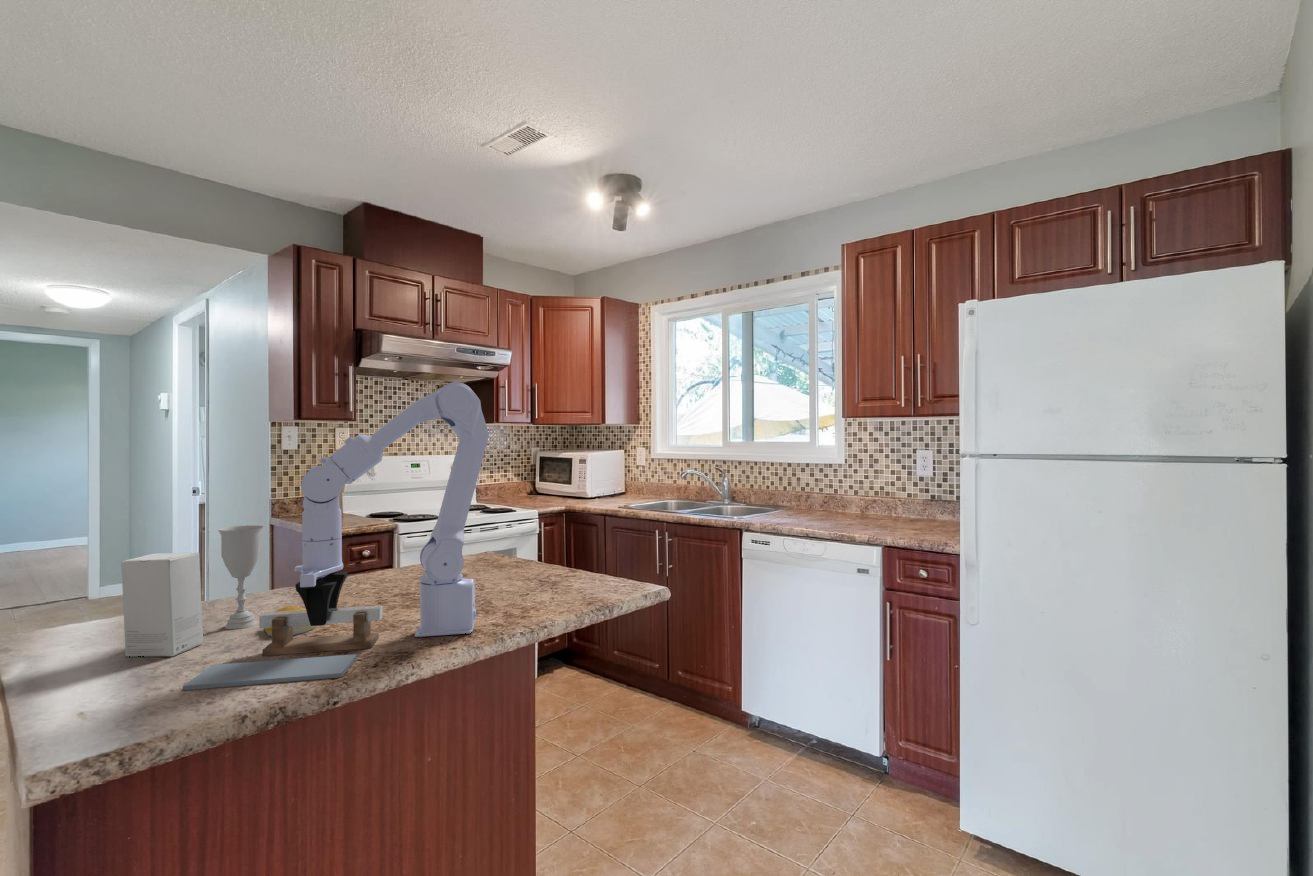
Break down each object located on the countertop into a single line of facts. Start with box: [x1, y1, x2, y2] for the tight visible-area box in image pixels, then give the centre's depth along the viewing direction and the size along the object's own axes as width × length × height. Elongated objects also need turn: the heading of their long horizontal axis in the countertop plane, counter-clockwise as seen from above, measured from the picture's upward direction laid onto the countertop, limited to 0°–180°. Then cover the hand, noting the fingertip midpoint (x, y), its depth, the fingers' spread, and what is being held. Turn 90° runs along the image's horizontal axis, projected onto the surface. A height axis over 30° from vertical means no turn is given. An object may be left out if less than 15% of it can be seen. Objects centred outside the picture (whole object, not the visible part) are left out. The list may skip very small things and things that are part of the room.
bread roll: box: [263, 605, 317, 637], centre depth 110 cm, size 8×9×4 cm
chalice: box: [217, 525, 264, 630], centre depth 113 cm, size 7×7×18 cm
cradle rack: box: [262, 613, 380, 657], centre depth 100 cm, size 16×5×6 cm, turn 102°
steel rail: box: [258, 604, 384, 629], centre depth 100 cm, size 18×2×2 cm, turn 102°
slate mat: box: [182, 653, 358, 691], centre depth 89 cm, size 20×8×1 cm, turn 102°
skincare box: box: [120, 551, 204, 658], centre depth 99 cm, size 8×7×16 cm
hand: (322, 621), depth 100 cm, fingers open, 4 cm apart
